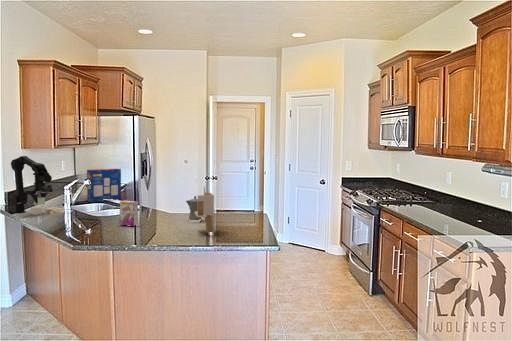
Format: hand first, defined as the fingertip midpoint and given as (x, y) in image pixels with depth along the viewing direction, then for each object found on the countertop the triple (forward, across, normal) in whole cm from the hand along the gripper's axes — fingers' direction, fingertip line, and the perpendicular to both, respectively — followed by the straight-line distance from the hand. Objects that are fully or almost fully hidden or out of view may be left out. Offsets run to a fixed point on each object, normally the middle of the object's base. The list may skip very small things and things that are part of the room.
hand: (39, 203), depth 307 cm
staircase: (+10, +6, -131) cm, 132 cm away
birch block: (+10, +13, -1) cm, 16 cm away
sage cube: (+1, 0, 0) cm, 1 cm away
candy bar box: (+10, +2, -77) cm, 78 cm away
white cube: (+10, +5, +9) cm, 14 cm away
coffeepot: (+10, +36, -109) cm, 115 cm away
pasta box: (+10, +80, +12) cm, 81 cm away
